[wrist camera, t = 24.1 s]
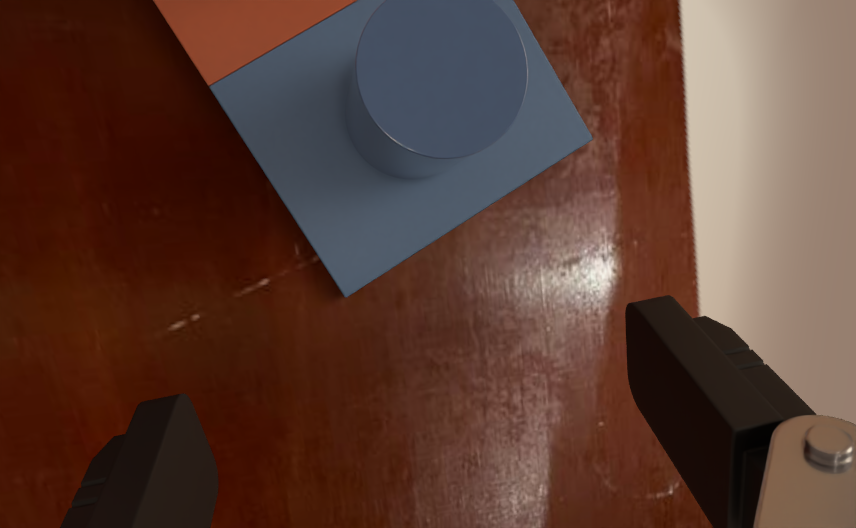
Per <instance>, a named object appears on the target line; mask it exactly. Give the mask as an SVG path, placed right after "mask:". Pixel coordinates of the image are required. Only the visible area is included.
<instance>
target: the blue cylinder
mask: <svg viewBox="0 0 856 528" xmlns="http://www.w3.org/2000/svg"><path fill="white" fill-rule="evenodd" d="M527 85H528V63H527V56H526V52H525V48H524V45H523V42H522V39H521V37H520V35H519V33H518V31H517V29H516V27H515V25H514V24H513V22H512V21H511V19H510V18H509V16H508V15H507V14H506V13H505V12H504V11H503V9H502V8H501V7H500V6H498V5H497V4H496V3H495V2H494V1H493V0H385V1H384V2H383V3H382V4H381V5H380V6H379V7H378V8H377V9H376V10H375V12H374V13H373V14H372V15H371V17H370V18H369V20H368V22H367V23H366V25H365V27H364V29H363V32H362V34H361V36H360V40H359V43H358V46H357V51H356V55H355V59H354V64H353V68H352V73H351V77H350V81H349V86H348V90H347V95H346V100H345V123H346V127H347V131H348V134H349V137H350V139H351V141H352V143H353V145H354V147H355V148H356V150H357V151H358V153H359V154H360V155H361V156H362V157H363V159H364V160H365V161H366V162H368V163H369V164H370V165H371V166H372V167H374V168H375V169H377V170H378V171H380V172H382V173H384V174H386V175H389V176H392V177H395V178H400V179H408V180H416V179H424V178H428V177H432V176H434V175H437V174H439V173H441V172H443V171H445V170H447V169H448V168H450V167H452V166H454V165H456V164H458V163H459V162H461V161H463V160H465V159H467V158H469V157H471V156H472V155H474V154H476V153H478V152H480V151H482V150H483V149H485V148H487V147H489V146H490V145H492V144H493V143H495V142H496V141H497V140H498V139H500V138H501V137H502V136H503V135H504V134H505V133H506V132H507V130H508V129H509V128H510V127H511V125H512V124H513V123H514V121H515V119H516V118H517V116H518V114H519V112H520V110H521V107H522V105H523V102H524V99H525V95H526V91H527Z"/></svg>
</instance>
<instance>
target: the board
mask: <svg viewBox="0 0 856 528" xmlns="http://www.w3.org/2000/svg"><path fill="white" fill-rule="evenodd" d="M153 1H154V3H155V4H156V6H157V7H158V9H159V11H160V12H161V14H162V15H163V17H164V18H165V20H166V21H167V23H168V25H169V26H170V28H171V29H172V31H173V32H174V34H175V35H176V37H177V38H178V40H179V42H180V43H181V45H182V46H183V48H184V49H185V51H186V52H187V54H188V55H189V57H190V59H191V60H192V62H193V63H194V65H195V66H196V68H197V69H198V71H199V72H200V74H201V76H202V77H203V79H204V80H205V82H206V83H207V85H208V86H209V88H210V89H211V91H212V93H213V94H214V96H215V97H216V99H217V100H218V102H219V103H220V105H221V106H222V108H223V110H224V111H225V113H226V114H227V116H228V117H229V119H230V120H231V122H232V123H233V125H234V127H235V128H236V130H237V131H238V133H239V134H240V136H241V137H242V139H243V140H244V142H245V144H246V145H247V147H248V148H249V150H250V151H251V153H252V154H253V156H254V157H255V159H256V161H257V162H258V164H259V165H260V167H261V168H262V170H263V171H264V173H265V174H266V176H267V178H268V179H269V181H270V182H271V184H272V185H273V187H274V188H275V190H276V192H277V193H278V195H279V196H280V198H281V199H282V201H283V202H284V204H285V205H286V207H287V209H288V210H289V212H290V213H291V215H292V216H293V218H294V219H295V221H296V222H297V224H298V226H299V227H300V229H301V230H302V232H303V233H304V235H305V236H306V238H307V239H308V241H309V243H310V244H311V246H312V247H313V249H314V250H315V252H316V253H317V255H318V256H319V258H320V260H321V261H322V263H323V264H324V266H325V267H326V269H327V270H328V272H329V273H330V275H331V277H332V278H333V280H334V281H335V283H336V284H337V286H338V287H339V289H340V290H341V292H342V294H343V295H344V297H348V296H350V295H351V294H353V293H354V292H356V291H357V290H359V289H360V288H362V287H364V286H365V285H367V284H368V283H370V282H371V281H373V280H375V279H376V278H378V277H379V276H381V275H382V274H384V273H385V272H387V271H389V270H390V269H392V268H393V267H395V266H396V265H398V264H399V263H401V262H403V261H404V260H406V259H407V258H409V257H410V256H412V255H413V254H415V253H417V252H418V251H420V250H421V249H423V248H424V247H426V246H427V245H429V244H431V243H432V242H434V241H435V240H437V239H438V238H440V237H442V236H443V235H445V234H446V233H448V232H449V231H451V230H452V229H454V228H456V227H457V226H459V225H460V224H462V223H463V222H465V221H466V220H468V219H470V218H471V217H473V216H474V215H476V214H477V213H479V212H480V211H482V210H484V209H485V208H487V207H488V206H490V205H491V204H493V203H494V202H496V201H498V200H499V199H501V198H502V197H504V196H505V195H507V194H509V193H510V192H512V191H513V190H515V189H516V188H518V187H519V186H521V185H523V184H524V183H526V182H527V181H529V180H530V179H532V178H533V177H535V176H537V175H538V174H540V173H541V172H543V171H544V170H546V169H547V168H549V167H551V166H552V165H554V164H555V163H557V162H558V161H560V160H562V159H563V158H565V157H566V156H568V155H569V154H571V153H572V152H574V151H576V150H577V149H579V148H580V147H582V146H583V145H585V144H586V143H588V142H590V141H591V140H592V139H593V138H592V136H591V134H590V132H589V131H588V129H587V127H586V126H585V124H584V122H583V120H582V119H581V117H580V115H579V113H578V112H577V110H576V108H575V106H574V105H573V103H572V101H571V99H570V98H569V96H568V94H567V93H566V91H565V89H564V87H563V86H562V84H561V82H560V80H559V79H558V77H557V75H556V73H555V72H554V70H553V68H552V67H551V65H550V63H549V61H548V60H547V58H546V56H545V54H544V53H543V51H542V49H541V47H540V46H539V44H538V42H537V41H536V39H535V37H534V35H533V34H532V32H531V30H530V28H529V27H528V25H527V23H526V21H525V20H524V18H523V16H522V15H521V13H520V11H519V9H518V8H517V6H516V4H515V2H514V1H513V0H493V1H494V2H495V3H496V4H497V5H498V6H500V7H501V8H502V9H503V11H504V12H505V13H506V14H507V15H508V16H509V18H510V19H511V21H512V22H513V24H514V25H515V27H516V29H517V31H518V33H519V35H520V37H521V39H522V42H523V45H524V48H525V52H526V56H527V63H528V85H527V91H526V95H525V99H524V102H523V105H522V107H521V110H520V112H519V114H518V116H517V118H516V119H515V121H514V123H513V124H512V125H511V127H510V128H509V129H508V130H507V132H506V133H505V134H504V135H503V136H502V137H501V138H500V139H498V140H497V141H496V142H495V143H493V144H492V145H490V146H489V147H487V148H485V149H483V150H482V151H480V152H478V153H476V154H474V155H472V156H471V157H469V158H467V159H465V160H463V161H461V162H459V163H458V164H456V165H454V166H452V167H450V168H448V169H447V170H445V171H443V172H441V173H439V174H437V175H434V176H432V177H428V178H424V179H416V180H408V179H400V178H395V177H392V176H389V175H386V174H384V173H382V172H380V171H378V170H377V169H375V168H374V167H372V166H371V165H370V164H369V163H368V162H366V161H365V160H364V159H363V157H362V156H361V155H360V154H359V153H358V151H357V150H356V148H355V147H354V145H353V143H352V141H351V139H350V137H349V134H348V131H347V127H346V123H345V100H346V95H347V90H348V86H349V81H350V77H351V73H352V68H353V64H354V59H355V55H356V51H357V46H358V43H359V40H360V36H361V34H362V32H363V29H364V27H365V25H366V23H367V22H368V20H369V18H370V17H371V15H372V14H373V13H374V12H375V10H376V9H377V8H378V7H379V6H380V5H381V4H382V3H383V2H384V1H385V0H153Z"/></svg>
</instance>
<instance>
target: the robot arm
mask: <svg viewBox="0 0 856 528" xmlns="http://www.w3.org/2000/svg"><path fill="white" fill-rule="evenodd" d="M625 318H626V344H627V370H628V380H629V385H630V389H631V392H632V395H633V398H634V400H635V403H636V405H637V407H638V408H639V410H640V411H641V413H642V415H643V416H644V418H645V419H646V421H647V423H648V424H649V426H650V427H651V429H652V431H653V432H654V434H655V435H656V437H657V439H658V440H659V442H660V443H661V445H662V446H663V448H664V450H665V451H666V453H667V454H668V456H669V458H670V459H671V461H672V462H673V464H674V466H675V467H676V469H677V470H678V472H679V474H680V475H681V477H682V478H683V480H684V481H685V483H686V485H687V486H688V488H689V489H690V491H691V493H692V494H693V496H694V497H695V499H696V501H697V502H698V504H699V505H700V507H701V509H702V510H703V512H704V513H705V515H706V516H707V518H708V520H709V521H710V523H711V524H712V526H713V528H856V425H855V424H853V423H851V422H848V421H845V420H842V419H839V418H834V417H829V416H823V415H816V413H815V412H814V411H812V409H811V408H810V407H809V406H808V405H807V404H806V403H805V402H804V401H803V400H802V399H801V398H800V397H799V396H798V395H796V393H795V392H794V391H793V390H792V389H791V388H790V387H789V386H788V385H787V384H786V383H785V382H784V381H783V380H782V379H781V378H780V377H779V376H778V375H777V374H776V373H775V372H774V371H773V370H772V369H771V368H770V367H769V366H768V365H767V364H766V365H764V363H763V360H762V359H761V358H760V357H759V356H758V355H757V354H756V353H755V352H754V351H753V350H750V349H749V346H748V345H747V344H746V343H745V342H744V341H743V340H742V339H741V338H740V337H739V336H738V335H737V334H736V333H735V332H734V331H733V330H732V329H731V328H729V327H727V326H725V325H723V324H721V323H719V322H717V321H714V320H712V319H711V318H709V317H706V316H702V317H697V318H693V319H692V318H691V316H690V315H689V314H688V313H687V312H686V311H685V310H684V309H683V308H682V307H681V306H680V304H679V303H678V302H677V301H676V300H675V299H674V298H673V297H672V296H669V295H667V296H662V297H657V298H652V299H648V300H643V301H638V302H633V303H629V304H628V305H627V307H626V313H625ZM81 486H82V487H81V488H79V489H78V491H77V493H76V495H75V497H74V499H73V501H72V508H69V510H68V512H67V514H66V516H65V518H64V520H63V523H62V525H61V527H60V528H210V526H211V521H212V517H213V512H214V508H215V503H216V499H217V494H218V472H217V467H216V462H215V459H214V456H213V454H212V451H211V449H210V446H209V444H208V441H207V439H206V436H205V434H204V431H203V429H202V426H201V424H200V421H199V419H198V417H197V414H196V412H195V409H194V407H193V404H192V402H191V400H190V398H189V397H188V396H187V395H186V394H184V393H183V394H178V395H173V396H168V397H163V398H158V399H153V400H148V401H144V402H141V403H140V404H139V405H138V406H137V408H136V411H135V413H134V415H133V418H132V420H131V422H130V425H129V427H128V429H127V432H126V434H123V435H119V436H114V437H113V438H112V439H111V440H110V441H109V442H108V443H107V444H106V445H105V447H104V448H103V449H102V450H101V451H100V452H99V453H98V454H97V455H96V456H95V457H94V458H93V459H92V461H91V463H90V465H89V468H88V470H87V472H86V474H85V476H84V478H83V480H82V482H81Z"/></svg>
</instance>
